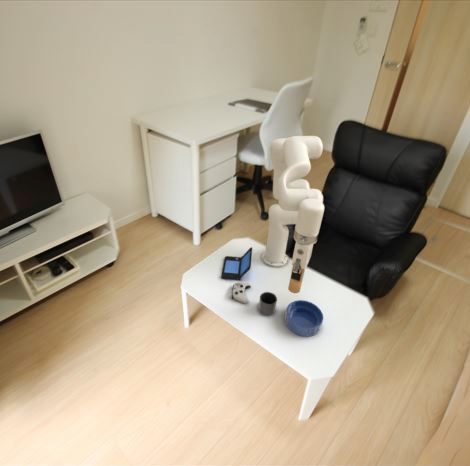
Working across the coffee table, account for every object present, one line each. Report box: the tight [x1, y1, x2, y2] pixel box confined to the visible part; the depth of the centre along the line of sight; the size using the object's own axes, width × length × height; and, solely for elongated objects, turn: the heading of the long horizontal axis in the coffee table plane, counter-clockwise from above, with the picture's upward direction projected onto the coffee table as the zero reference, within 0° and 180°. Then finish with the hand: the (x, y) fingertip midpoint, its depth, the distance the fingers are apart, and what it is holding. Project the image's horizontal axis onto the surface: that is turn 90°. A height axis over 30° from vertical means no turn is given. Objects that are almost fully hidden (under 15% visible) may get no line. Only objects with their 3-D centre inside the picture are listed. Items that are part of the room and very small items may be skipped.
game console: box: [220, 246, 253, 282], centre depth 150 cm, size 16×13×9 cm
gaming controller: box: [231, 281, 251, 305], centre depth 139 cm, size 11×6×7 cm
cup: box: [258, 291, 278, 316], centre depth 131 cm, size 7×7×7 cm
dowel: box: [287, 265, 306, 294], centre depth 116 cm, size 4×4×12 cm
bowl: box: [284, 299, 324, 338], centre depth 126 cm, size 14×14×6 cm
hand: (297, 274), depth 115 cm, fingers closed on dowel, 4 cm apart
